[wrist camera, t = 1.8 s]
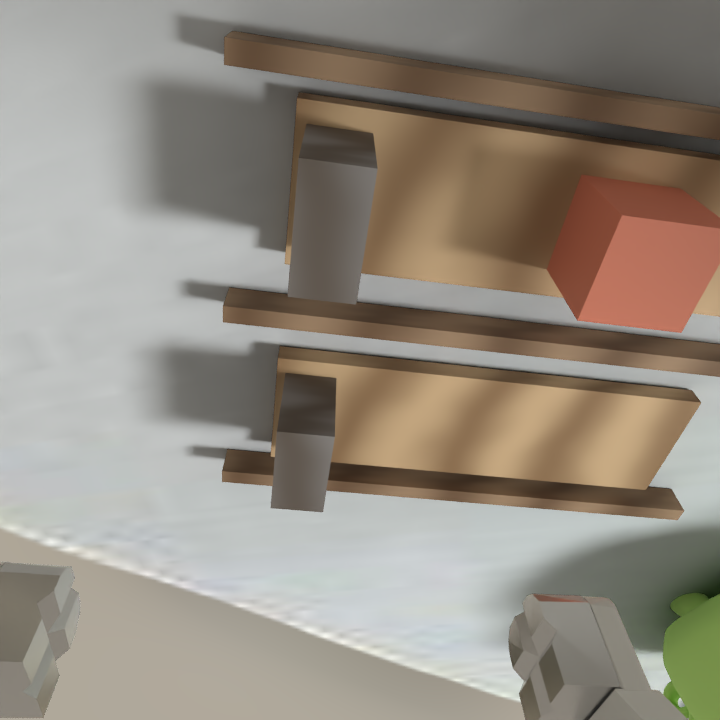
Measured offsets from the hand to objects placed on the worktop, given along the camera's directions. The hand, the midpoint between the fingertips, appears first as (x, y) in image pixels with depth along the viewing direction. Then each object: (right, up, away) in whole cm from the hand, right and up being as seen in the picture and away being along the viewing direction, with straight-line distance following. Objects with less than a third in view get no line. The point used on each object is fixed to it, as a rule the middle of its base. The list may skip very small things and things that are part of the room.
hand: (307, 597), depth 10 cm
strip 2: (+9, +1, +27) cm, 28 cm away
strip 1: (+11, +12, +19) cm, 25 cm away
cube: (+14, +11, +18) cm, 25 cm away
